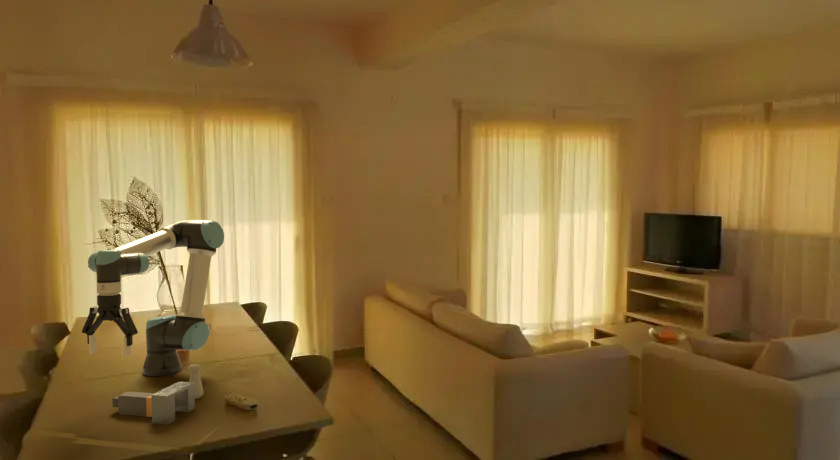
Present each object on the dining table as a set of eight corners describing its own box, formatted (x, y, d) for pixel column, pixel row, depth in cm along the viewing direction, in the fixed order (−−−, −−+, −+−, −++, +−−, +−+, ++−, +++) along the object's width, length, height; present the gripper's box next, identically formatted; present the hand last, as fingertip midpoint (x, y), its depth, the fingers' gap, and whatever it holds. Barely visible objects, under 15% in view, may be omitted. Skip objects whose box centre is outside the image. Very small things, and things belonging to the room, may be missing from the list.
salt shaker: (189, 396, 225) (189, 362, 224) (205, 396, 225) (204, 362, 225) (184, 402, 219) (184, 367, 218) (201, 401, 220) (200, 366, 219)
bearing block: (152, 423, 198) (151, 394, 198) (179, 407, 213) (179, 381, 213) (168, 424, 197) (167, 396, 197) (194, 409, 212) (194, 382, 211)
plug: (111, 413, 208) (110, 394, 208) (120, 408, 212) (119, 390, 212) (154, 417, 204) (153, 398, 204) (162, 412, 209) (162, 394, 208)
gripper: (69, 294, 209) (70, 354, 210) (134, 296, 205) (135, 358, 206) (85, 291, 217) (86, 349, 217) (147, 293, 212) (148, 353, 213)
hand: (110, 354), depth 212 cm, fingers open, 13 cm apart
